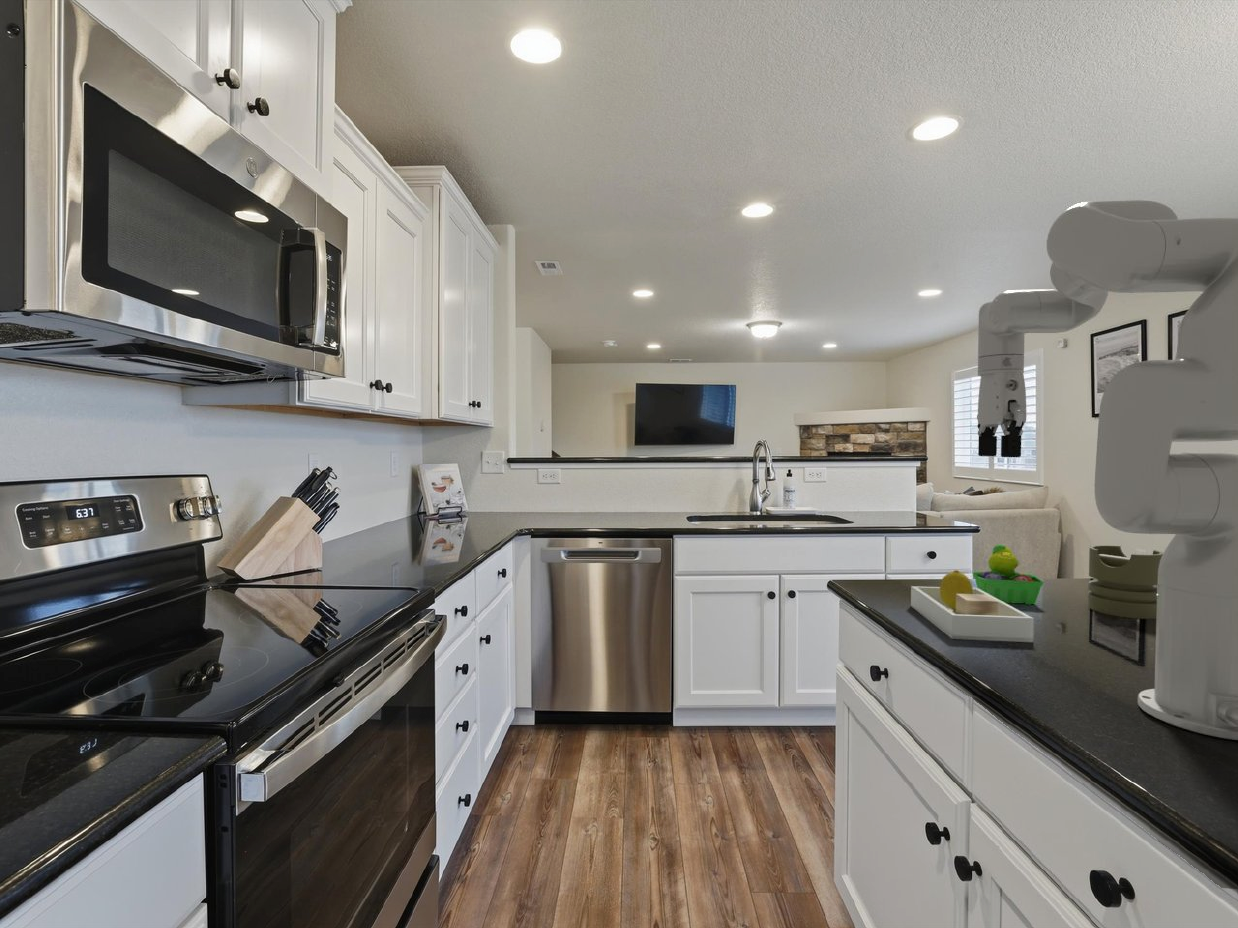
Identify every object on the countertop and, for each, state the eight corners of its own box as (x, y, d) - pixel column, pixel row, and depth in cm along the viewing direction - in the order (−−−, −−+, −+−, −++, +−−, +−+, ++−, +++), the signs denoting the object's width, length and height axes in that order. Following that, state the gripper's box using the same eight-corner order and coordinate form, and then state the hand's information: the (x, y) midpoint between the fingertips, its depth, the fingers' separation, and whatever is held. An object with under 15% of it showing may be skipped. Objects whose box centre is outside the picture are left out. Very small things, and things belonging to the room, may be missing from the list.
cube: (966, 628, 109) (966, 600, 109) (955, 620, 114) (956, 593, 114) (997, 630, 108) (998, 601, 108) (985, 622, 113) (985, 594, 113)
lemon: (939, 613, 119) (939, 571, 119) (939, 606, 124) (940, 566, 123) (972, 617, 116) (973, 574, 116) (972, 610, 121) (973, 569, 121)
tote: (1033, 642, 103) (1033, 618, 103) (952, 638, 105) (952, 615, 105) (977, 608, 125) (978, 588, 125) (910, 605, 127) (911, 586, 126)
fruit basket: (980, 603, 129) (981, 548, 129) (970, 593, 138) (970, 542, 137) (1044, 607, 126) (1045, 551, 125) (1029, 596, 134) (1030, 544, 134)
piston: (1147, 557, 115) (1078, 548, 125) (1145, 621, 115) (1076, 607, 125) (1174, 551, 121) (1106, 543, 130) (1172, 613, 121) (1104, 600, 131)
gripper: (1046, 360, 110) (1043, 457, 111) (1000, 371, 127) (999, 455, 128) (1000, 361, 111) (998, 457, 112) (961, 372, 128) (959, 455, 129)
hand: (998, 456), depth 120 cm, fingers open, 9 cm apart
